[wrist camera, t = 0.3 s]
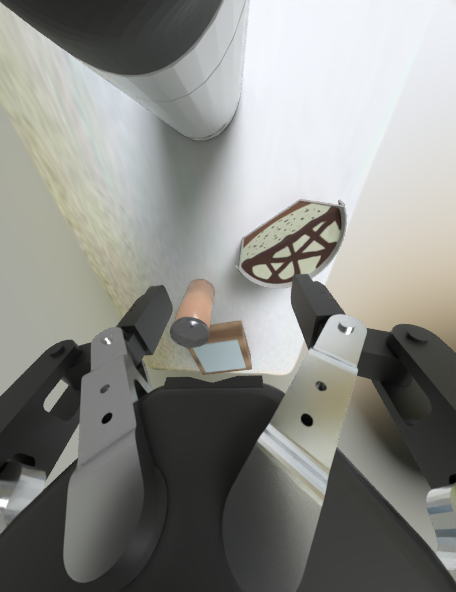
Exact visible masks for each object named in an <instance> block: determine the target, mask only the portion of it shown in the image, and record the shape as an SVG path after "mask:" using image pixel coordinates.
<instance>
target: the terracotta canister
mask: <svg viewBox="0 0 456 592" xmlns="http://www.w3.org/2000/svg"><path fill="white" fill-rule="evenodd" d="M214 296H215V289H214V287H213V285H212V284H211V283H210V282H208V281H206V280H202V279H198V280H194V281H192V282H191V283H190V284H189V286H188V288H187V291H186V293H185V296H184V298H183V301H182V303H181V306H180V308H179V311H178V314H177V316H176V319H175V321H174V323H173V324H172V327H171V329H170V335H171V337H172V339H173V340H174V341H175V342H176V343H178V344H179V345H182V346H185V347H190V348H195V347H200V346H202V345H204V344H205V343H206V342H207V341H208V339H209V328H210V322H211V315H212V309H213V302H214Z"/></svg>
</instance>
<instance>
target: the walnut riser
mask: <svg viewBox="0 0 456 592" xmlns="http://www.w3.org/2000/svg"><path fill="white" fill-rule="evenodd" d="M187 348H188V349H189V351H190V353H191V355H192V356H193V358H194V360H195V362H196V363H197V365H198V367H199V368H200V370H201V372H202V374H203V375H205V374H213V373H222V372H231V371H240V370H249V369H252V365H251V354H250V351H249V347H248V343H247V340H246V336H245V332H244V328H243V325H242V321H234V322H228V323H222V324H215V325H210V328H209V339H208V341H207V342H206V343H205V344H204V345H202V346H200V347H195V348H190V347H187Z"/></svg>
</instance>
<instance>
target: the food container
mask: <svg viewBox="0 0 456 592" xmlns="http://www.w3.org/2000/svg"><path fill="white" fill-rule="evenodd" d="M338 202H339V205H337V204H330V203H323V202H317V201H310V200H303V199H299V200H298V201H296V202H295V203H293V204H292V205H290V206H289V207H288V208H286V209H285V210H283V211H282V212H280V213H279V214H277V215H276V216H274V217H273V218H271V219H270V220H268V221H267V222H265V223H264V224H262V225H261V226H259V227H258V228H256V229H255V230H253V231H252V232H250V233H249V234H247V235H246V236H244V237H243V238H242V246H241V254H240V262H239V267H238V266H237V265H236V264H235V266H236V268H237V269H238V271H239V272H240V273H241V274H242V275H243V276H244V277H246V278H247V279H248V280H250V281H252V282H253V283H255V284H258V285H260V286H263V287H267V288H288V287H292V280H293V275H296V274H308V275H309V276H310V278H311V279H312V278H313V277H315V276H316V275H318V274H319V273H320V272H321V271H323V270H324V269H325V268H326V267H327V266H328V265H329V263H330V262H331V261H332V260H333V259H334V257H335V255H336V254H337V252H338V251H339V249H340V247H341V244H342V242H343V239H344V236H345V232H346V225H347V215H346V209H345V204H344V203H343V202H342V201H341V200H338Z"/></svg>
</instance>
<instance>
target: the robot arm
mask: <svg viewBox="0 0 456 592" xmlns="http://www.w3.org/2000/svg"><path fill="white" fill-rule="evenodd" d="M249 1H250V0H0V2H1V3H2V4H4V5H5V6H6V7H7V8H9V9H10V10H11V11H13V12H14V13H15V14H17V15H18V16H19V17H20V18H22V19H23V20H24V21H26V22H27V23H28V24H30V25H31V26H32V27H33V28H35V29H36V30H37V31H39V32H40V33H42V34H43V35H44V36H46V37H47V38H49V39H50V40H51V41H53V42H54V43H56V44H57V45H58V46H60V47H61V48H62V49H64V50H65V51H67V52H68V53H70V54H71V55H72V56H73V57H75V58H76V59H78V60H79V61H80V62H82V63H83V64H85V65H86V66H87V67H89V68H90V69H92V70H93V71H94V72H96V73H97V74H98V75H100V76H101V77H103V78H104V79H105V80H107V81H108V82H110V83H111V84H112V85H114V86H115V87H117V88H118V89H120V90H121V91H123V92H124V93H125V94H127V95H128V96H129V97H131V98H132V99H134V100H135V101H136V102H138V103H139V104H141V105H142V106H143V107H145V108H146V109H147V110H149V111H150V112H152V113H153V114H154V115H156V116H157V117H159V118H160V119H161V120H163V121H164V122H165V123H167V124H168V125H170V126H171V127H172V128H174V129H175V130H177V131H178V132H180V133H181V134H182V135H184V136H185V137H188V138H190V139H193V140H200V141H203V140H209V139H212V138H214V137H216V136H218V135H219V134H220V133H221V132H222V131H224V130H225V129H226V127H227V126H228V125H229V123H230V122H231V120H232V118H233V116H234V114H235V112H236V109H237V106H238V103H239V99H240V93H241V86H242V76H243V67H244V56H245V45H246V34H247V23H248V12H249ZM291 305H292V308H293V310H294V313H295V316H296V318H297V321H298V323H299V326H300V329H301V331H302V334H303V337H304V339H305V342H306V344H307V347H308V350H309V351H308V353H307V355H306V357H305V359H304V360H303V362H302V364H301V366H300V368H299V370H298V372H297V373H296V375H295V377H294V379H293V381H292V382H291V385H290V386H289V388H288V390H287V392H286V394H285V393H284V392H282V391H281V390H279V389H277V388H275V387H273V386H271V385H268V384H265V383H263V380H262V376H236V377H232V378H229V379H225V380H222V381H218V382H214V383H210V382H206V381H202V380H199V379H195V378H191V377H167V378H166V381H165V385H164V386H161V387H159V388H156V389H154V390H153V388H152V385H151V382H150V379H149V376H148V373H147V370H146V366H145V363H144V361H143V360H142V358H143V356H144V355H153V353H154V351H155V349H156V347H157V345H158V343H159V340H160V338H161V336H162V334H163V332H164V329H165V327H166V325H167V323H168V321H169V319H170V316H171V314H172V310H173V308H172V303H171V301H170V298H169V296H168V293H167V291H166V289H165V287H164V286H163V285H160V286H151V287H150V288H149V289H148V290H147V292H146V293H145V294H144V295H142V296H141V297H140V298H138V299H137V300H136V301H135V303H134V304H133V306H132V307H131V308H130V309H129V311H128V312H127V313H126V314H125V316H124V317H123V318H122V320H121V321H120V322H119V324H118V325H117V326H116V327H112V328H109V329H106V330H104V331H102V332H101V333H99V334H98V335H97V336H96V337H95V338H94V339H93V340H92V342H91V343H87V344H84V345H80V346H78V345H77V344H76V343H75V342H74V341H73V340H65V341H61V342H59V343H57V344H55V345H53V346H52V347H50V348H49V349H48V350H46V351H45V352H44V353H43V354H42V355H41V356H40V357H39V358H38V359H37V360H36V361H35V362H34V363H33V364H32V365H31V366H30V367H29V368H28V369H27V370H26V371H25V372H24V374H22V375H21V376H20V377H19V378H18V379H17V380H16V381H15V382H14V384H12V385H11V386H10V387H9V388H8V389H7V391H5V392H4V393H3V394H2V395H1V396H0V592H456V353H455V352H454V351H453V350H452V349H451V348H450V347H449V346H447V345H446V344H445V343H444V342H443V341H442V340H441V339H440V338H439V337H437V336H436V335H435V334H433V333H432V332H430V331H428V330H426V329H424V328H421V327H418V326H415V325H410V324H399V325H396V326H395V327H394V328H393V329H392V331H391V332H386V331H380V330H374V329H369V328H366V326H365V325H364V324H363V323H362V322H361V321H360V320H358V319H356V318H354V317H352V316H349V315H346V314H345V313H344V311H343V310H342V309H341V308H340V306H339V304H338V303H337V302H336V300H335V299H334V298H333V296H332V295H331V293H329V291H328V289H327V288H326V286H324V285H323V284H321V283H320V282H318V281H314V282H313V281H312V279H311V278H310V276H309V275H308V274H296V275H293V280H292V289H291ZM357 376H361V377H365V378H369V379H371V380H372V382H373V384H374V386H375V388H376V389H377V391H378V393H379V395H380V397H381V399H382V400H383V402H384V404H385V406H386V408H387V409H388V411H389V413H390V415H391V417H392V418H393V420H394V422H395V423H396V426H397V427H398V429H399V431H400V433H401V434H402V437H403V438H404V440H405V442H406V444H407V446H408V447H409V449H410V451H411V453H412V454H413V456H414V458H415V460H416V462H417V464H418V465H419V467H420V469H421V471H422V473H423V475H424V476H425V478H426V480H427V482H428V484H429V485H430V487H431V489H432V490H431V491H430V492H429V493H428V495H427V499H426V500H427V501H426V505H427V511H428V514H429V517H430V520H431V522H432V526H433V528H434V530H435V533H436V537H437V543H438V548H437V554H435V553H434V551H433V550H432V549H431V548H430V547H429V546H428V544H427V543H426V542H425V541H424V540H423V539H422V537H421V536H420V535H419V534H418V533H417V532H416V531H415V530H414V529H413V528H412V527H411V526H410V525H409V524H408V522H407V521H406V520H405V519H404V518H403V517H402V516H401V515H400V514H399V513H398V512H397V511H396V510H395V509H394V507H393V506H392V505H391V504H390V503H389V502H388V501H387V500H386V499H385V498H384V497H383V496H382V495H381V494H380V493H379V491H378V490H377V489H376V488H375V487H374V486H373V485H372V484H371V483H370V482H369V481H368V480H367V479H366V478H365V476H364V475H363V474H362V473H361V472H360V471H359V470H358V469H357V468H356V467H355V466H354V465H353V464H352V463H351V461H350V460H349V459H348V458H347V457H346V456H345V455H344V454H343V453H342V452H341V451H340V450H339V449H338V448H337V444H338V440H339V436H340V433H341V430H342V426H343V422H344V419H345V415H346V412H347V408H348V404H349V401H350V398H351V394H352V391H353V387H354V384H355V380H356V377H357ZM60 379H61V380H63V381H64V382H65V383H67V384H68V385H69V386H68V388H67V389H66V390H65V392H64V393H63V394H62V396H61V397H60V398H59V400H58V401H57V403H56V404H55V405H54V407H53V408H52V410H51V411H50V412H47V411H45V410H44V407H43V404H44V401H45V399H46V397H47V396H48V394H49V393H50V392H51V390H52V389H53V388H54V387H55V386H56V384H57V383H58V382H59V380H60ZM79 423H80V425H79V449H78V458H77V459H76V460H75V461H74V462H73V463H72V464H71V465H70V466H69V467H68V468H66V469H65V471H63V472H62V473H61V474H60V475H59V476H58V477H57V478H56V479H55V480H54V481H53V482H52V483H51V484H50V485H48V486H47V487H46V488H45V489H44V486H45V483H46V480H47V478H48V476H49V474H50V473H51V471H52V469H53V468H54V466H55V464H56V462H57V461H58V459H59V457H60V455H61V454H62V452H63V450H64V448H65V447H66V445H67V443H68V442H69V440H70V438H71V436H72V434H73V433H74V431H75V429H76V428H77V426H78V424H79Z"/></svg>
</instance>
